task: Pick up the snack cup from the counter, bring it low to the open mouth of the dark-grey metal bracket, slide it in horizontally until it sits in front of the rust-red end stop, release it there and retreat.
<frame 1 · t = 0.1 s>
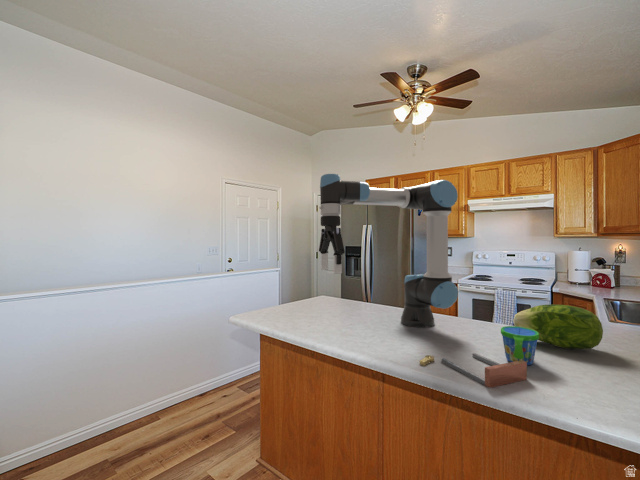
hand: (331, 271, 119), 28 cm above the countertop, fingers open, 13 cm apart
brass key: (425, 362, 102), on the countertop
lettuce: (555, 346, 117), on the countertop
snack cup: (519, 362, 102), on the countertop
bracket: (479, 369, 97), on the countertop
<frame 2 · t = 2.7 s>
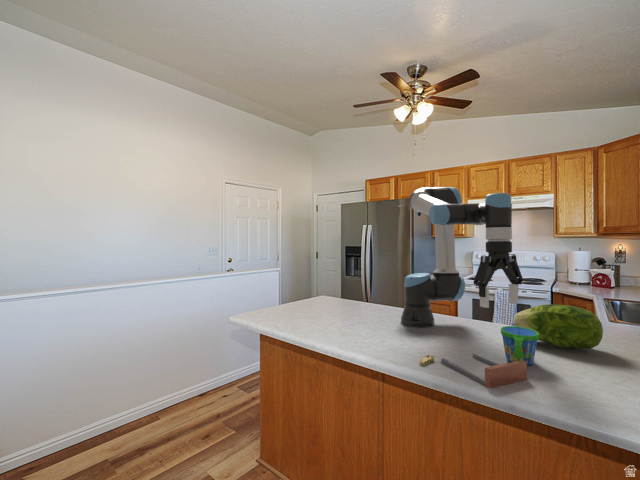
hand: (499, 305, 103), 18 cm above the countertop, fingers open, 13 cm apart
nothing on the countertop moved.
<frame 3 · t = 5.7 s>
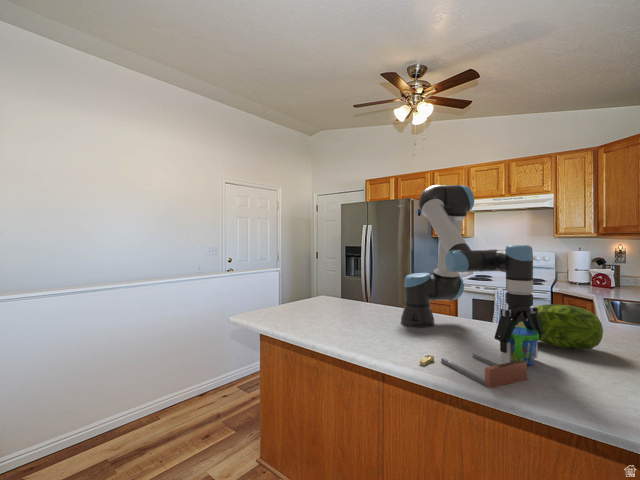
hand: (519, 359, 102), 1 cm above the countertop, fingers closed on snack cup, 11 cm apart
snack cup: (519, 362, 102), on the countertop, touching gripper
everything else where it was.
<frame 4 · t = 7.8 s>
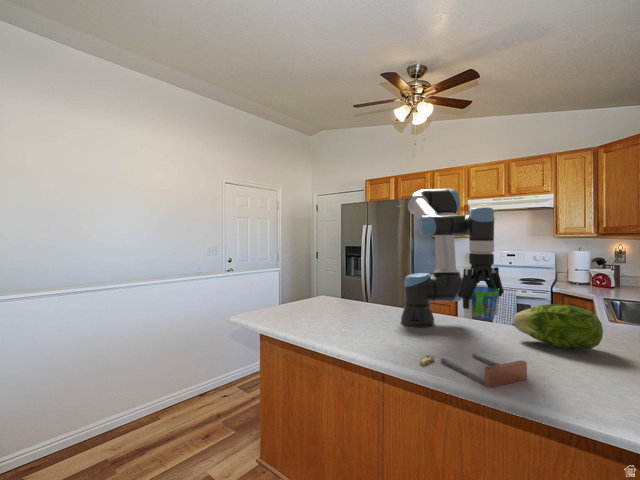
hand: (481, 316, 108), 13 cm above the countertop, fingers closed on snack cup, 11 cm apart
snack cup: (481, 318, 108), point 12 cm above the countertop, touching gripper
everything else where it was.
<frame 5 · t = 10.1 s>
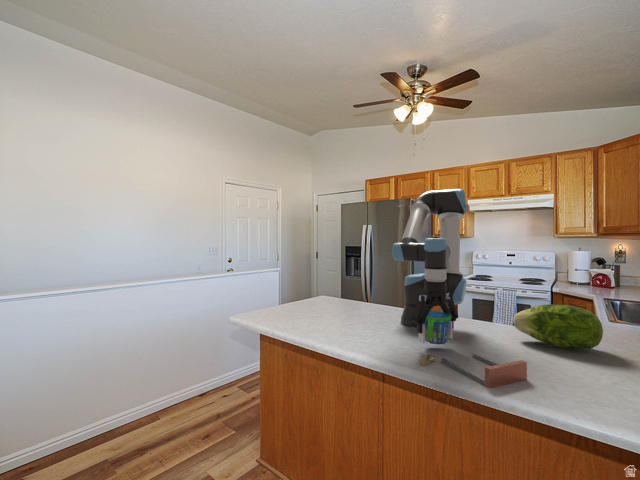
hand: (435, 339, 115), 3 cm above the countertop, fingers closed on snack cup, 11 cm apart
snack cup: (435, 342, 115), point 2 cm above the countertop, touching gripper
everything else where it was.
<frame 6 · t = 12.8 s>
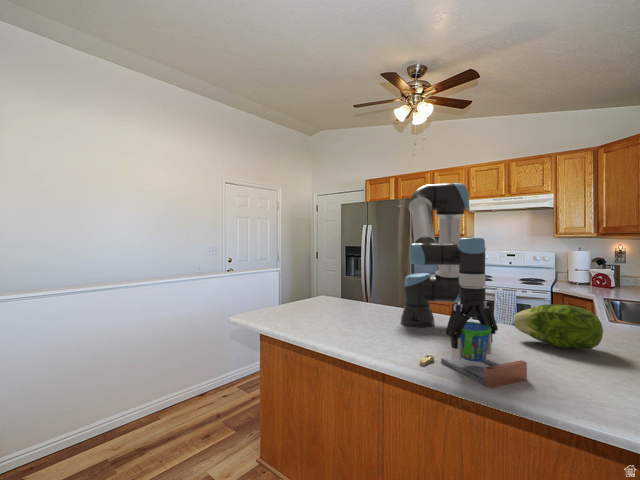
hand: (472, 355, 99), 3 cm above the countertop, fingers closed on snack cup, 11 cm apart
snack cup: (472, 358, 99), point 2 cm above the countertop, touching gripper
everything else where it was.
when the fingers open (3 cm above the countertop, at t = 14.9 s): snack cup drops 2 cm, resting in bracket.
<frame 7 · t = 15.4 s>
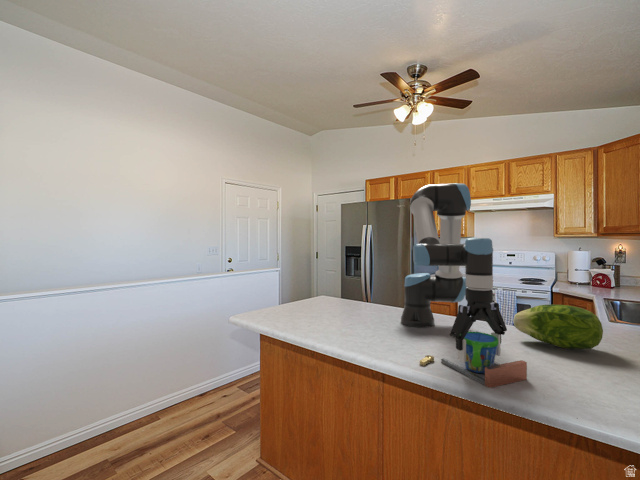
hand: (479, 357, 96), 4 cm above the countertop, fingers open, 13 cm apart
snack cup: (478, 370, 97), resting in bracket
everything else where it was.
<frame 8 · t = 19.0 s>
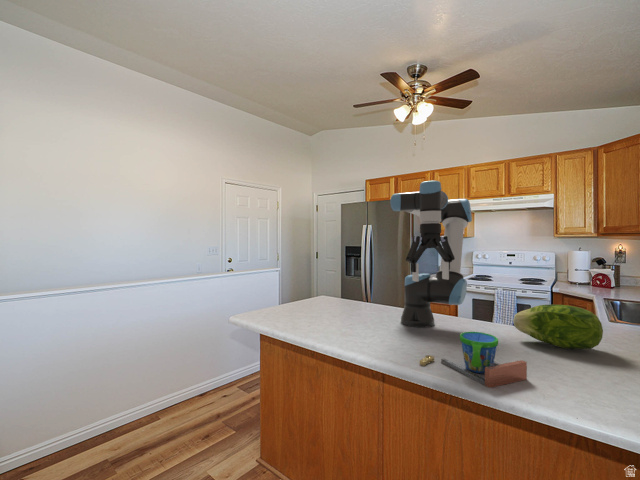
hand: (430, 280, 117), 25 cm above the countertop, fingers open, 13 cm apart
nothing on the countertop moved.
at the end: snack cup inside the target area on the bracket (0.6 cm from its centre), point 0.0 cm above the bracket's base; snack cup moved 17.2 cm from its start; the gripper is holding nothing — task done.
